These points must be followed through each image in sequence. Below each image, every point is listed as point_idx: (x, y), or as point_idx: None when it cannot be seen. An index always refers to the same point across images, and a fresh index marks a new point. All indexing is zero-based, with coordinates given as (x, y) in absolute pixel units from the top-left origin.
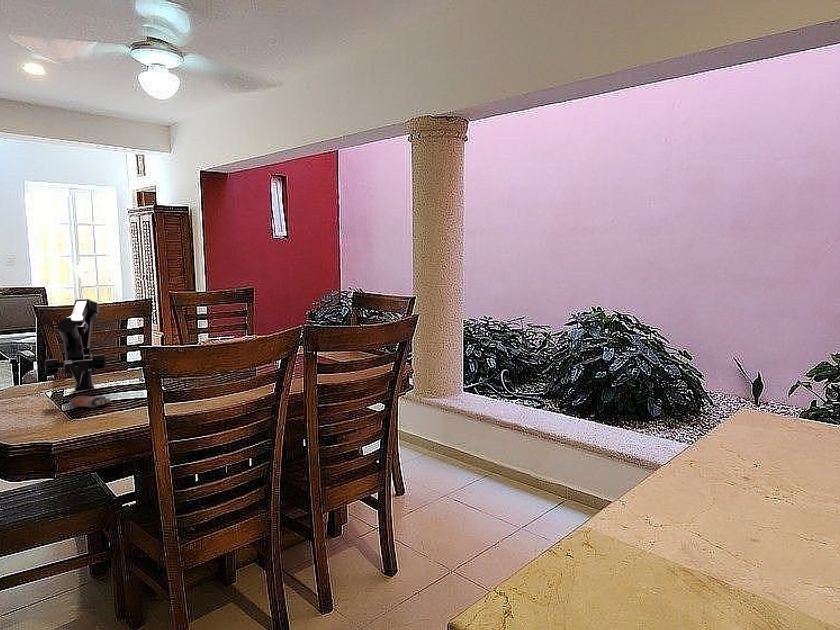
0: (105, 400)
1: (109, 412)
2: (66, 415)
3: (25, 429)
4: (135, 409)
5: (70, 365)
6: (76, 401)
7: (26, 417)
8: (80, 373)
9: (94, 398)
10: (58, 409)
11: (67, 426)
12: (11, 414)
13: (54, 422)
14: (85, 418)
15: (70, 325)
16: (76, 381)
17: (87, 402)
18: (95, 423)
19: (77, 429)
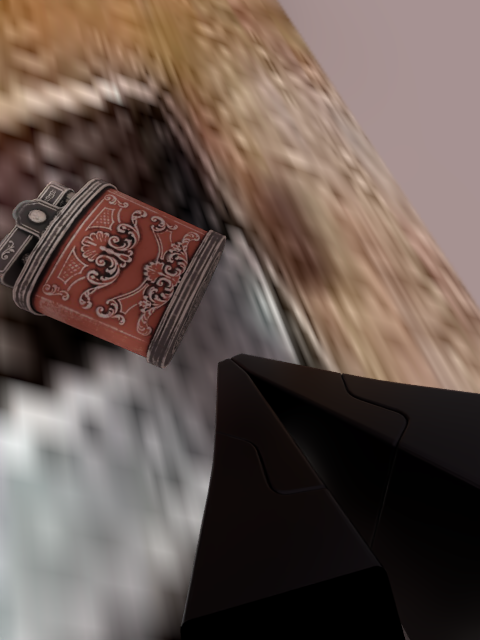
0: (12, 235)
1: (3, 131)
2: (200, 156)
3: (274, 55)
4: None
5: None
6: (187, 223)
7: (346, 185)
8: (237, 417)
9: (71, 200)
10: (276, 268)
11: (148, 28)
12: (428, 248)
13: (212, 86)
14: (104, 87)
15: None
16: (255, 359)
17: (117, 191)
18: (50, 15)
19: None
